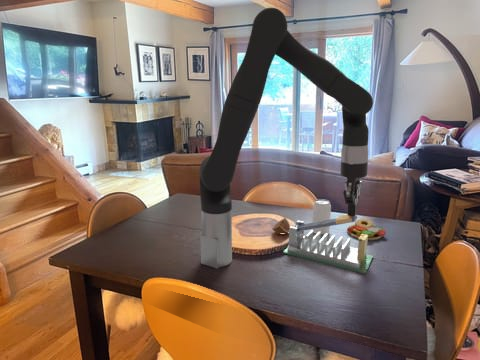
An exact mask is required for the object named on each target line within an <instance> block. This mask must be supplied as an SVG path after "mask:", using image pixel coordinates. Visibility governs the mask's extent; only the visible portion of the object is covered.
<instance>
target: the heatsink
mask: <svg viewBox="0 0 480 360" xmlns="http://www.w3.org/2000/svg"><path fill="white" fill-rule="evenodd" d="M297 224H301V225H303V224H305V221H302V220H297V221H296V223H295V226H296V225H297ZM304 231H305V230H303V231H298V228H296V227H294V226H291V225H290V228H289V233H288V245H287V248H286V249H284V250H283V253H282V254H285V255H289V256H292V257H297V258H300V259H304V260H309V261H312V262H315V263H318V264H319V263H320V264H324V265H328V266H332V267H336V268H338V269H343V270H347V271H351V272H354V273H359V274H363V275H366V273H367V272H368V269H369V267H370V265H371V263H372V261H373V259H372V258H374V255H371V254H367V250H368V241H369V240H368V235H366V234H361V236H360V237H359V239H358V244H357V245H358V246H357V247H353V246H351V241H352V240H351V238H350V237H348V238H347V240H346V242H345V243H343V241H344V240H343V238H344V236H340V237H339V239H338V240H337V241H336V234H332V235H331V237H330V238H329V240H328V236H329V233H326V234H325V235H322V238H321V235H320V233H321V232H318V233H317V234H314V233H313V230H312V229H310V231H309V232H308V233H307V234H306V235H304V234H305V233H304Z"/></svg>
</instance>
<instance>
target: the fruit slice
mask: <svg viewBox="0 0 480 360" xmlns="http://www.w3.org/2000/svg"><path fill="white" fill-rule="evenodd" d="M290 227H291V224H290V222H289V220H288V219H287V218H286V217H284V218H282V219H281V220H279V221H277V222H276V223H275V224H274V225H273V227H271V228H272V231H273V232H275V233H276V232H278V233H288V232H289V228H290ZM278 233H277V234H278ZM288 234H289V233H288Z"/></svg>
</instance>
